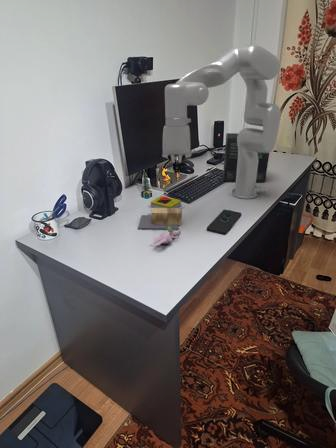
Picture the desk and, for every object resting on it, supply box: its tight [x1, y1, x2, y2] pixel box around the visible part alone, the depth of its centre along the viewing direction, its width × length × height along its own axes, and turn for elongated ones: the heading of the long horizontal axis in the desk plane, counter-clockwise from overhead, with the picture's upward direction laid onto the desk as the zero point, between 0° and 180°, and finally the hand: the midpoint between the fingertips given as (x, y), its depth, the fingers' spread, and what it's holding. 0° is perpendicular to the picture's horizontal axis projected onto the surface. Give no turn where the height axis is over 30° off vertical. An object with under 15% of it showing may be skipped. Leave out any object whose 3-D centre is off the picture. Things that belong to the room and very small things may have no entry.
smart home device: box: [206, 209, 242, 236], centre depth 126 cm, size 8×2×20 cm
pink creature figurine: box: [152, 227, 182, 247], centre depth 112 cm, size 6×6×15 cm
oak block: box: [150, 208, 183, 226], centre depth 125 cm, size 5×5×12 cm
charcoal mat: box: [137, 214, 180, 231], centre depth 126 cm, size 16×12×1 cm
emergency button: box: [147, 195, 186, 210], centre depth 140 cm, size 9×4×15 cm
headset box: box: [222, 132, 270, 184], centre depth 167 cm, size 22×12×26 cm, turn 84°
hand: (176, 172), depth 118 cm, fingers closed
